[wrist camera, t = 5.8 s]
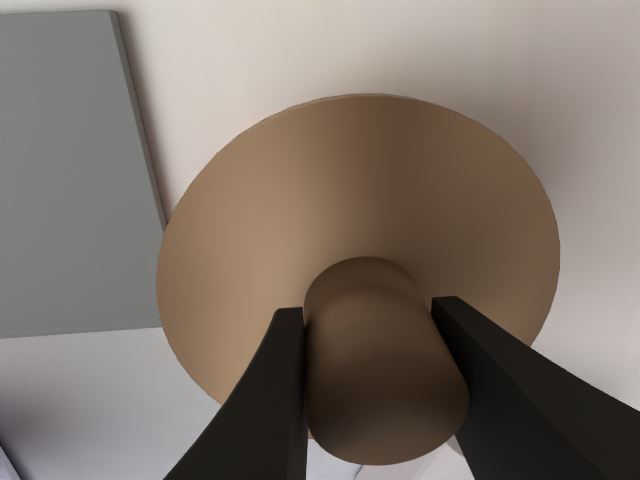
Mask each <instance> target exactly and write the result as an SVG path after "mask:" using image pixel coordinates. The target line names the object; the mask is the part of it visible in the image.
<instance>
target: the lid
mask: <svg viewBox="0 0 640 480" xmlns="http://www.w3.org/2000/svg"><path fill="white" fill-rule="evenodd" d="M559 270H560V241H559V235H558V228H557V222H556V219H555V216H554V212H553V209H552V206H551V203H550V200H549V198H548V196H547V194H546V192H545V190H544V188H543V187H542V185H541V183H540V181H539V179H538V177H537V176H536V175H535V173H534V172H533V171H532V169H531V168H530V167H529V165H528V164H527V163H526V161H525V160H524V159H523V157H521V156H520V155H519V154H518V153H517V152H516V151H515V150H514V149H513V148H512V147H511V146H510V145H509V144H508V143H507V142H506V141H504V140H503V139H502V138H501V137H499V136H498V135H496V134H495V133H493V132H492V131H490V130H489V129H487V128H486V127H484V126H483V125H481V124H480V123H478V122H476V121H474V120H472V119H469V118H467V117H465V116H463V115H461V114H459V113H457V112H454V111H452V110H450V109H447V108H444V107H442V106H439V105H435V104H432V103H428V102H425V101H421V100H418V99H415V98H410V97H403V96H396V95H389V94H347V95H340V96H333V97H326V98H320V99H317V100H313V101H310V102H306V103H303V104H300V105H296V106H293V107H290V108H288V109H286V110H283V111H281V112H279V113H277V114H274V115H272V116H270V117H268V118H265V119H263V120H262V121H260V122H259V123H257V124H255V125H254V126H252V127H251V128H249V129H247V130H246V131H244V132H243V133H241V134H239V135H238V136H237V137H236V138H235V139H233V140H232V141H231V142H230V143H229V144H227V145H226V146H225V147H224V148H223V149H221V150H220V151H219V152H218V153H217V154H216V155H215V156H214V157H213V158H212V159H211V161H210V162H209V163H208V164H207V165H206V166H205V167H204V168H203V170H202V171H201V172H200V173H199V174H198V175H197V177H196V178H195V179H194V180H193V182H192V183H191V184H190V186H189V187H188V189H187V190H186V192H185V193H184V195H183V197H182V198H181V200H180V201H179V203H178V204H177V206H176V207H175V210H174V212H173V214H172V216H171V218H170V221H169V223H168V225H167V227H166V230H165V232H164V236H163V239H162V243H161V247H160V251H159V254H158V261H157V271H156V295H157V305H158V310H159V314H160V319H161V323H162V327H163V329H164V332H165V334H166V337H167V339H168V342H169V344H170V346H171V348H172V350H173V352H174V353H175V355H176V357H177V359H178V360H179V362H180V364H181V365H182V366H183V368H184V369H185V370H186V371H187V373H188V374H189V375H190V377H191V378H192V379H193V380H194V381H195V382H196V383H197V384H198V385H199V386H200V387H201V388H202V389H203V390H204V391H205V392H206V393H207V394H208V395H209V396H211V397H212V398H213V399H214V400H216V401H217V402H218V403H220V404H221V405H222V406H223V404H224V403H225V401H226V400H227V398H228V397H229V395H230V394H231V392H232V391H233V389H234V387H235V386H236V384H237V383H238V381H239V380H240V378H241V377H242V375H243V374H244V372H245V370H246V369H247V367H248V365H249V363H250V362H251V360H252V358H253V356H254V354H255V353H256V351H257V349H258V347H259V345H260V343H261V341H262V339H263V337H264V335H265V333H266V331H267V329H268V327H269V325H270V322H271V320H272V317H273V314H274V312H275V311H276V310H277V309H278V308H290V307H303V317H304V330H305V371H306V404H307V423H308V439H315V441H316V442H317V443H318V444H319V445H320V447H322V448H323V449H324V450H325V451H327V452H328V453H330V454H331V455H333V456H335V457H337V458H339V459H341V460H344V461H347V462H351V463H355V464H360V465H370V466H382V465H393V464H399V463H403V462H407V461H411V460H414V459H417V458H419V457H422V456H424V455H426V454H428V453H430V452H432V451H434V450H435V449H437V448H438V447H440V446H442V445H443V444H444V443H445V442H447V441H448V440H449V439H450V438H451V437H452V436H453V435H454V434H455V433H456V432H457V430H458V429H459V428H460V426H461V425H462V423H463V421H464V419H465V417H466V415H467V412H468V408H469V391H468V387H467V384H466V382H465V380H464V378H463V376H462V374H461V372H460V370H459V368H458V367H457V365H456V363H455V361H454V359H453V357H452V355H451V353H450V351H449V349H448V347H447V345H446V343H445V341H444V339H443V337H442V335H441V334H440V332H439V330H438V328H437V326H436V324H435V322H434V320H433V318H432V316H431V303H432V297H445V296H457V297H459V298H460V299H462V300H463V301H465V302H466V303H468V304H469V305H471V306H472V307H473V308H475V309H476V310H478V311H479V312H480V313H482V314H483V315H485V316H486V317H487V318H489V319H490V320H492V321H493V322H494V323H496V324H497V325H499V326H500V327H501V328H503V329H504V330H506V331H507V332H508V333H510V334H511V335H513V336H514V337H516V338H517V339H519V340H520V341H521V342H523V343H524V344H526V345H527V346H529V347H530V346H531V345H532V343H533V342H534V340H535V338H536V337H537V335H538V334H539V332H540V330H541V328H542V326H543V324H544V322H545V320H546V318H547V315H548V313H549V311H550V308H551V305H552V302H553V299H554V295H555V292H556V288H557V282H558V276H559Z"/></svg>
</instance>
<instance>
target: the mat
mask: <svg viewBox="0 0 640 480" xmlns="http://www.w3.org/2000/svg"><path fill="white" fill-rule="evenodd" d="M166 227H167V223H166V219H165V215H164V210H163V206H162V202H161V198H160V194H159V189H158V185H157V181H156V177H155V172H154V168H153V164H152V160H151V156H150V151H149V147H148V143H147V139H146V134H145V130H144V126H143V122H142V118H141V113H140V109H139V105H138V101H137V96H136V92H135V88H134V84H133V80H132V75H131V71H130V67H129V63H128V58H127V54H126V50H125V46H124V42H123V37H122V33H121V29H120V25H119V20H118V16H117V12H115V11H111V10H95V11H73V12H52V13H31V14H10V15H0V339H1V338H15V337H29V336H42V335H56V334H70V333H84V332H98V331H112V330H126V329H140V328H154V327H162V323H161V319H160V314H159V310H158V305H157V295H156V271H157V261H158V254H159V251H160V247H161V243H162V239H163V236H164V232H165V230H166Z"/></svg>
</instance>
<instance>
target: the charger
mask: <svg viewBox="0 0 640 480" xmlns="http://www.w3.org/2000/svg"><path fill="white" fill-rule="evenodd" d="M354 480H475V479H474V477H473V475H472V473H471V470H470V468H469V466H468V464H467V462H466V459H465V457H464V455H463V453H462V451H461V448H460V446H459V444H458V442H457V440H456V437H455V435H453V436H452V437H451V438H450V439H449V440H448V441H447V442H445V443H444V444H443V445H442V446H440V447H438V448H437V449H435V450H434V451H432V452H430V453H428V454H426V455H424V456H422V457H419V458H417V459H414V460H411V461H407V462H403V463H399V464H393V465H382V466H370V465H363V467H362V468H361V470H360V471H359V473H358V474H357V475H356V477H355V478H354Z"/></svg>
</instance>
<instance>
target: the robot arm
mask: <svg viewBox="0 0 640 480" xmlns="http://www.w3.org/2000/svg"><path fill="white" fill-rule="evenodd" d="M431 316H432V318H433V320H434V322H435V324H436V326H437V328H438V330H439V332H440V334H441V335H442V337H443V339H444V341H445V343H446V345H447V347H448V349H449V351H450V353H451V355H452V357H453V359H454V361H455V363H456V365H457V367H458V368H459V370H460V372H461V374H462V376H463V378H464V380H465V382H466V384H467V387H468V391H469V408H468V412H467V415H466V417H465V419H464V421H463V423H462V425H461V426H460V428H459V429H458V430H457V432H456V433H455V434H454V435H455V437H456V440H457V442H458V444H459V446H460V448H461V451H462V453H463V455H464V457H465V459H466V462H467V464H468V466H469V468H470V470H471V473H472V475H473V477H474V479H475V480H640V411H638V410H636V409H634V408H632V407H630V406H628V405H626V404H625V403H623V402H621V401H619V400H617V399H615V398H614V397H612V396H610V395H608V394H606V393H604V392H602V391H601V390H599V389H597V388H595V387H593V386H592V385H590V384H588V383H586V382H585V381H583V380H581V379H580V378H578V377H576V376H574V375H573V374H571V373H570V372H568V371H566V370H565V369H563V368H562V367H560V366H558V365H557V364H555V363H554V362H552V361H550V360H549V359H547V358H546V357H544V356H542V355H541V354H539V353H538V352H536V351H535V350H533V349H532V348H530V347H529V346H527V345H526V344H524V343H523V342H521V341H520V340H519V339H517V338H516V337H514V336H513V335H511V334H510V333H508V332H507V331H506V330H504V329H503V328H501V327H500V326H499V325H497V324H496V323H494V322H493V321H492V320H490V319H489V318H487V317H486V316H485V315H483V314H482V313H480V312H479V311H478V310H476V309H475V308H473V307H472V306H471V305H469V304H468V303H466V302H465V301H463V300H462V299H460V298H459V297H457V296H445V297H432V303H431ZM307 446H308V423H307V404H306V371H305V330H304V317H303V307H290V308H278V309H277V310H276V311H275V312H274V314H273V317H272V320H271V322H270V325H269V327H268V329H267V331H266V333H265V335H264V337H263V339H262V341H261V343H260V345H259V347H258V349H257V351H256V353H255V354H254V356H253V358H252V360H251V362H250V363H249V365H248V367H247V369H246V370H245V372H244V374H243V375H242V377H241V378H240V380H239V381H238V383H237V384H236V386H235V387H234V389H233V391H232V392H231V394H230V395H229V397H228V398H227V400H226V401H225V403H224V404H223V406H222V407H221V408H220V410H219V411H218V413H217V414H216V415H215V417H214V418H213V419H212V421H211V422H210V423H209V425H208V426H207V427H206V429H205V430H204V431H203V432H202V434H201V435H200V436H199V438H198V439H197V440H196V441H195V443H194V444H193V445H192V446H191V447H190V448H189V450H188V451H187V452H186V453H185V454H184V456H183V457H182V458H181V459H180V460H179V461H178V463H177V464H176V465H175V466H174V467H173V469H172V470H171V471H170V472H169V473H168V474H167V475H166V476H165V478H164V479H163V480H306V465H307ZM0 480H21V479H20V478H19V476H18V474H17V473H16V471H15V469H14V468H13V466H12V465H11V463H10V461H9V460H8V458H7V456H6V455H5V453H4V451H3V450H2V448H1V446H0Z"/></svg>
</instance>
